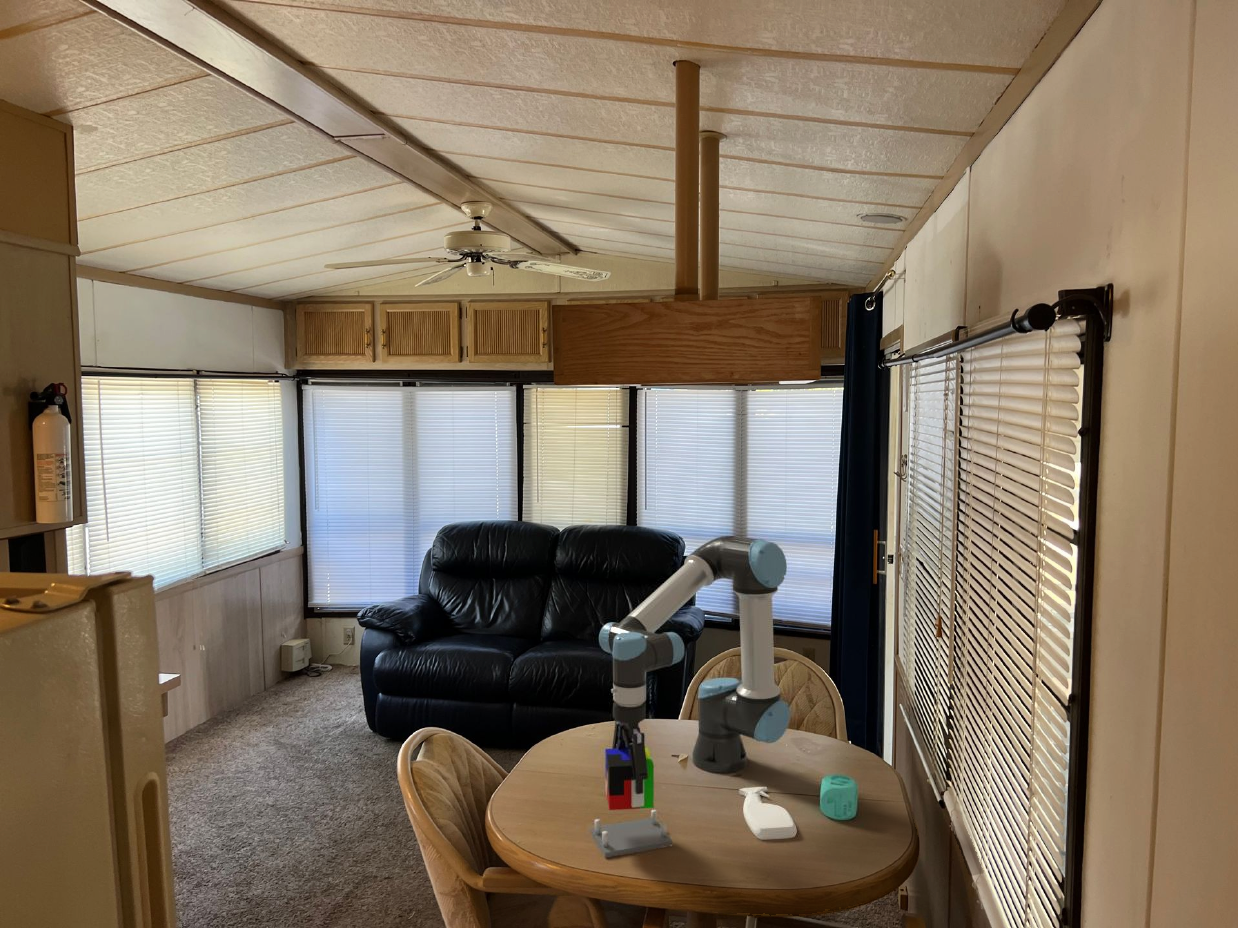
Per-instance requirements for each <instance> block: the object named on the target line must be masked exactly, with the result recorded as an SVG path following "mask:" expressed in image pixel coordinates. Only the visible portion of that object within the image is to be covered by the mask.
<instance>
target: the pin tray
mask: <svg viewBox="0 0 1238 928" xmlns="http://www.w3.org/2000/svg"><path fill="white" fill-rule="evenodd" d="M650 813H651V814H650V817H645V818H638V819H634V820H627V821H622V822H615V823H608V824H604V825H601V823H602V822H601V819H600V818H595V819H594V826H590V827H589V833H590V835H591V837H592V838H593V840H594V842H595V844H596V845H597V847H598V848H599V850H600V853H601V854H602V855H603V857H604V859H607V858H613V857H619V856H624V855H628V854H629V855H630V854H634V853H635V852H636V853H642V852H645V851H644V850H647V851H652V850H656V849H655V848H658V849H661V848H660V847H663V846H669V847H671V846H670V845H672V846H673V840H672V839H671V837H670V836H669V835H668V833H667V822H666V821H665V820H663V821H660V823H659V822H658V810H657V809H651V811H650ZM663 848H664V847H663ZM651 849H652V850H651ZM618 855H619V856H618Z"/></svg>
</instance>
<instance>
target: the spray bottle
mask: <svg viewBox="0 0 1238 928" xmlns="http://www.w3.org/2000/svg"><path fill="white" fill-rule="evenodd" d="M767 791H768V788H767V786H757V787H756V786H751V787H743V788H740V789H739V791H738V792H739V793H738V794H739V795H741V796H744V797H745V799H744V802H743V809H742V812H743V816H744V820H745V822H746V824H747V826H748V828H749V830H751V832H752V834H754V835H755V837H756V838H757V839H758V840H761V841H762V840H763V841H764V840H765V841H766V840H780V839H783V840H785V839H791V838H795V837H796V834H797V833H798V832H797V831H798V830H797V829H798V828H797V825H796V824H795V821H794V820H793V818H792V816H791V815H790V813H789V811H787V810H786V808H784V807H782V806H780V805H777V804H773V803H772V804H771V803H764V802H763V801H762V797H761V796H763V797H766V798H770V795H768V794H767V793H766V792H767Z"/></svg>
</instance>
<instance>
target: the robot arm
mask: <svg viewBox="0 0 1238 928" xmlns="http://www.w3.org/2000/svg"><path fill="white" fill-rule="evenodd" d="M787 566H788V565H787V559H786V556H785V552H784V551H783V550H782V548H781V547H780V546H779V545H778V544H777V543H775V542H772V541H768V540H765V539H761V538H760V539H759V538H751V537H742V536H741V537H740V536H735V535H723V536H719V537H715V538H713V539H711V540H709V541H707V542H706V543H704V544H702V545H701V546H699V547H698V548H696V549H695V550H694V551H693V552H691V553H690V554H689V555H688V556H686V558H685V559H684V564H683V565H682V566H681V567H680V568H679V569H678V570H677V571H676V572H675V573H673V574H672V575H671V576H670V577H669V578H668V579H667V580H665V581H664V583H662V584H661V585H660V586H659V587H658V588H657V589H655V590H654V592H652V593H651V594H650V595H649V596H648V597H647V598H645V600H644V601H642V602H641V603H640V604H639V605H637V607H635V609H634V610H633V611H631V612H630V613H629V614H627V616H626V617H625V618H623V619H622V620H621V621H620V622H611V621H610V622H607V623H606V624H604V625H603V626H602V627H601V629H600V631H599V635H598V643H599V646H600V647H601V649H602V650H603V651H604V652H607V653H609V654H611V655H612V686H613V687H612V688H611V689H610V691H611V694H612V696H613V697H612V698H613V699H612V700H613V701H614V702H613V703H612V717H613V719H614V730H613V739H612V740H613V741H612V748H611V749H625V748H627V749H628V750H629V755H630V761H631V767H632V773H633V777H631V778H630V779H631V780H632V807H633V808H634V807H640V806H644V779H648V772H647V763H646V753H645V747H646V746H645V742H646V741H645V738H646V737H645V736H646V735H645V733H644V732H642V731H641V728H640V726H639V724H640V723H641V722H643V721H644V720H645V719H646V718H647V717H646V716H647V714H646V713H647V711H646V710H647V708H646V707H647V704H646V701H647V673H648V672H652V671H655V670H658V669H661V668H662V669H663V668H665V667H671V666H672V665H674V664H677V663H679V662H681V661H682V660H683V658H684V655H685V644H684V641H683V638H682V637H681V636H680V635H679V634H678V633H676V632H673V631H669V632H662V633H656V631H657V630H658V629H660V627H661V626H663V625H664V624H665V623H666V622H667V621H668V620H669V619H670V618H671V617H672V616H673V615H674V614H675V613H676V612H677V611H679V609H681V607H683V606H684V605H685V604H686V603H687V602H688V601H689V600H691V598H692V597H693V596H695V594H697V593H698V592H699V591H700V590H701V589H702V588H703V587H708V586H711V585H712V584H713V583H714V582H716V581H718V580H722V579H725V580H726V579H727V580H730V581H732V588H733V589H732V590H733V592H734V593H735V594H736V595H737V597H738V600H739V602H738V603H739V627H740V629H739V635H740V660H741V662H740V663H741V666H740V667H741V681H740V679H738V678H735V677H716V678H710V679H706V680H705V681H702V682H701V683H700V685H699V686H698V696H697V702H698V703H697V704H698V705H697V707H698V708H697V709H698V711H697V712H698V713H697V715H698V735H697V738H696V741H695V744H694V746H693V750H692V754H691V755H692V756H691V757H692V759H691V760H692V761H691V762H692V763H693V764H694V765H695V766H696V767H697V768H699V769H701V770H703V771H707V772H713V773H730V772H736V771H739V770H742V769H743V768H745V767H746V765H747V763H748V761H747V760H748V759H747V757H748V755H747V752H746V748H745V746H744V742H743V738H742V736H745V737H747V738H750V739H752V740H755V741H756V742H762V743H766V744H773V743H775V742H777V741H779V740H780V739H781V738H782V737H783V736H784V734H785V733H786V731H787V729H788V726H789V724H790V721H791V708H790V705H789V704H788V703H787V702H786V701H784V700H783V699H782V698H781V697H782V696H781V695H782V693H781V688H780V687H779V686H778V685H777V684H776V683H775V658H774V657H775V653H774V650H775V649H774V622H773V620H774V619H773V596H775V594H776V593H777V592H778V591H779V590H778V589H779V588H778V587H779V586H781V584H782V583H783V582H784V580H785V576H786V574H787ZM741 735H742V736H741Z"/></svg>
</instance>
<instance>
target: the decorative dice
mask: <svg viewBox="0 0 1238 928" xmlns="http://www.w3.org/2000/svg"><path fill="white" fill-rule="evenodd" d="M858 787H859V786H858V783H857V782H856V781H855V779H854V778H852V777H850V776H848V775H844V774H838V773H836V774H835V773H833V774H828V775H826V776H824V777H823V778H822V780H821V786H820V792H819V793H820V797H819V800H820V801H819V805H820V806H819V807H820V811H821V812H822V813H823V815H825V816H826V817H827V818H830V819H832V820H837V821H848V820H851V819H853V818H855V817H856V816H857V815H856V814H857V811H858V796H859V795H858V794H859V791H858Z"/></svg>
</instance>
